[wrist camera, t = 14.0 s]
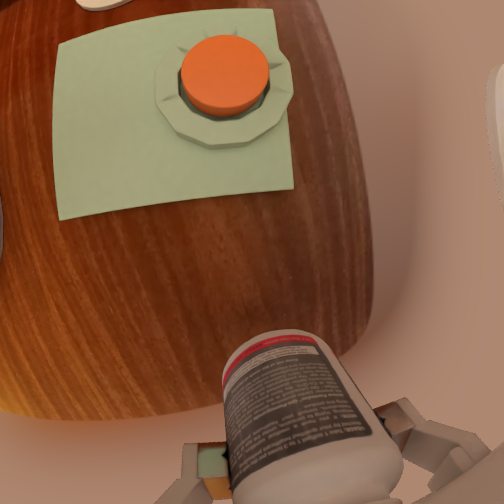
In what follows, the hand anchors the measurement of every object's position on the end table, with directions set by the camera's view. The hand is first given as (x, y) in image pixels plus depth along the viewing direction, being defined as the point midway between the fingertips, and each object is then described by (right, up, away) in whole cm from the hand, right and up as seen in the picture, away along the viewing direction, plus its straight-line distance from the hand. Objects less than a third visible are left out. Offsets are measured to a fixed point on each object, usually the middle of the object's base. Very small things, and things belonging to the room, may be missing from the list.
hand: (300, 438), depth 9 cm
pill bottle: (0, +1, +4) cm, 4 cm away
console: (-7, +16, +7) cm, 19 cm away
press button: (-3, +15, +4) cm, 16 cm away
